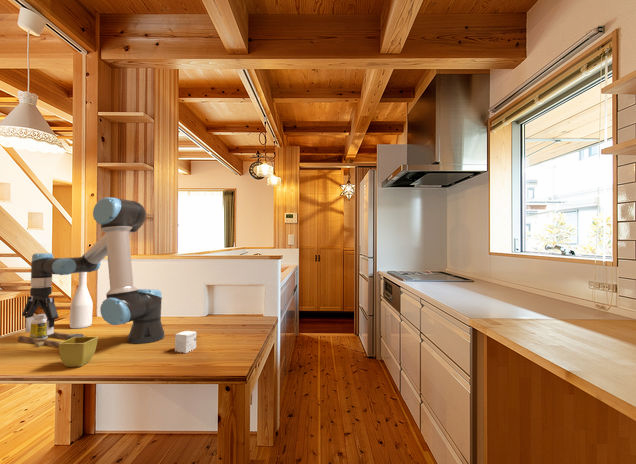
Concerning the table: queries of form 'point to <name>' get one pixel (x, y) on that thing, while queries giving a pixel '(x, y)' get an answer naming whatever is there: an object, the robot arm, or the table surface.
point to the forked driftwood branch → (43, 342)
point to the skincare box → (185, 341)
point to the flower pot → (77, 350)
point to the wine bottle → (81, 305)
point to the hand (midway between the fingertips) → (39, 333)
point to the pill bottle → (38, 327)
